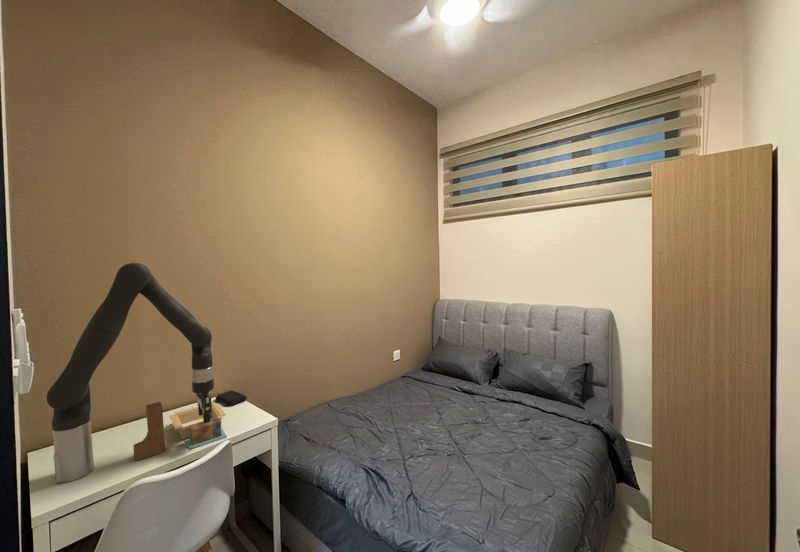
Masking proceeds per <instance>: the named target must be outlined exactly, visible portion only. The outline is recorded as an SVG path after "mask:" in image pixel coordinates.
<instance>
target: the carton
mask: <svg viewBox="0 0 800 552" xmlns="http://www.w3.org/2000/svg"><path fill="white" fill-rule="evenodd" d="M211 405H212V413H210V417H212V418H216V417H218V418H219V420H220V421H221V422H222V419H223V417H225V416H227V414H226V412H225V411H224V410H223V409H222V408H221V406H220V405H219V403H217V402H216V403H211ZM206 410H208V407H207V408H206ZM169 418H170V420H171V422H172V425H173V427H174V430H175V431H178V434H179V435H180V437H181V439H182V440H184V439H185V440H186V439H189V438H190V426H189V425H190V424H189V425H186V426H183V425H184V424H187V423H190V422H194V421H198V420H200V419H203V415H201V416H199V412H198V405H197V406H195V407H190V408H188V409H187V408H186V409H184V410H180V411H179V410H178V411H176V412H174V414H171V415H169ZM199 422H200V421H199ZM199 422H196V423H199ZM196 423H194V424H196Z"/></svg>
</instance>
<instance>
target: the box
mask: <svg viewBox="0 0 800 552" xmlns="http://www.w3.org/2000/svg"><path fill="white" fill-rule="evenodd" d="M189 426H190V437H189V439H190V440H191V442H192V444H193V445H196V444H199V443H202V442H205V441H208V440H211V439H214V438H217V437H220V436H222V434H221V429H222V420H221V421H220V420H219V418H218V417H216V418H213V417H212V418H210V422H209V423H204V421H203V420H202V421H199V423H198V422H196V424H195V423H192V424H189Z"/></svg>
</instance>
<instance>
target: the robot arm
mask: <svg viewBox="0 0 800 552" xmlns="http://www.w3.org/2000/svg"><path fill="white" fill-rule="evenodd" d="M139 294H140V295H142V296H143V297H144V298H146V299H147V300H148V301H149V303H151V304H152V306H154V307H155V309H156V310H157V311H158V312H159V314H160V315H161V316H162V317H163V318H165V319H166V321H167V322H168V323H170V324H171V325H172V326H173V327H174V328H175V329H176V330H178V331H179V332H180V333H181V334H182V335H183V336H184V337H185V338H186V340H187V341H189V343H190V344H191V345H190V346H191V353H192V355H191V392H192V393H194V394H196V395H195V397H196V401H195V402H196V405H197V406H198V412H199V416H201V415H203V418H202V421H204V423H209V422H210V419H211V416H210V413H212V405H211V404H212V397H211V394H210V393H209V392H211V391H213V390H214V389H215V378H214V377H215V376H214V374H215V373H214V366H213V353H212V340H213V339H212V338H213V337H212V332H211V330H210V329H209V328H208V327H206V326H203V325H202V324H201V323H199V321H197V319H196V317H195V316H194V315H193V314H192V313H191V312H190V311H189V310H188V308H187V309H186V307H185V306H184V305H182V303H180V302H179V301H178V300H176V299H175V298H174V297H173V296H172V295H171V294H170V293H168V291H166V289H164V287H163V286H162V285H161V284H160V283H159V282H158V281H157V279H156V278H155V276H154V275H153V274H152V272H151V271H150V269H149V267H147V266H146V265H144V264H142V263H139V262H130V263H126V264H123V265H122V266H121V267H120V268H119V269H117V273H116V274H115V277H114V279H113V283H112V285H111V287H110V288H109V292H108V293H107V296H105V299H103V302H102V303H101V304H100V305H99V307H98V308H97V309H96V311H95V312H94V314H93V315H92V317H91V318H90V320H89V321H88V323H87V325H86V326H85V327H84V330H83V332H82V334H81V336H80V338H79V339H78V341H77V343H76V345H75V346H74V347H75V348H73V349H74V350H73V352H72V354H71V357H70V359H69V361H68V362H67V364H66V366H65V368H64V369H63V370H62V372H61V374H60V375H59V376H58V378H57V379H56V380H55V382H54V383H53V385H52V386H50V388H49V389H48V391H47V393H46V402H47V404H48V406H49V407H50V408H51V409H53V416H52V420H51V428H52V429H51V431H52V440H53V441H52V442H53V451H54V452H53V463H54V472H55V473H54V475H55V477H54V478H55V484H56V485H57V484H60V483H68V482H73V481H76V480H78V479H81V478H84V477H85V476H87V475H89V474H91V472H93V471H94V470H95V460H94V451H93V449H94V448H93V447H94V446H93V437H92V436H93V435H92V428H91V427H92V424H91V409H92V405H91V390H90V389H91V388H90V381H91V378H92V377H93V374H94V373H95V371H96V369H97V368H98V366H99V365H100V364H101V362H102V361H103V360H104V359H105V357H106V356H107V354H109V352H110V350H111V349H112V347H113V346H114V344H115V342H116V341H117V339H118V338H119V336H120V334H121V332H122V330H123V327H124V326H125V324H126V322H127V318H128V315H129V312H130V309H131V308H132V305H133V303H134V301H135V300H136V299H137V298H138V296H139ZM207 407H208V410H206V408H207Z"/></svg>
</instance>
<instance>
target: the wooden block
mask: <svg viewBox="0 0 800 552" xmlns="http://www.w3.org/2000/svg"><path fill="white" fill-rule="evenodd" d="M145 410H146V422H147V426H146V427H147V432H146V433H147V434H146V437H144V438H143V440H141V441H138V442H137V443H134V444H133V457H134V461H136V462H138V461H140V459H141V460H143V458H144V459H146V458H149V457H152V456H154V455H159V454H162V453H165V451H166V444H165V430H164V429H165V427H164V425H165V424H164V413H163V412H164V411H163V405H162V402H161V401H156V402H153V403H149V404H146V405H145ZM137 460H138V461H137Z"/></svg>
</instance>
